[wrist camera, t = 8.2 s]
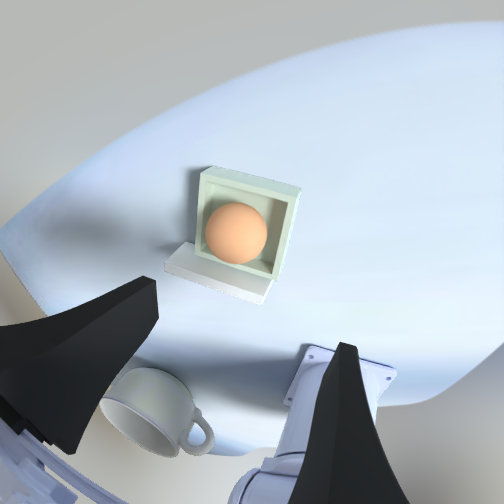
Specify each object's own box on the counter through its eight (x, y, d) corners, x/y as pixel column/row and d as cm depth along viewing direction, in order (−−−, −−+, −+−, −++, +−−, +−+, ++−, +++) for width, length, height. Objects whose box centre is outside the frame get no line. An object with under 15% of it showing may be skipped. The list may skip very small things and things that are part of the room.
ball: (266, 253, 20) (250, 284, 18) (215, 236, 21) (192, 264, 18) (278, 203, 19) (264, 228, 16) (223, 187, 19) (198, 208, 16)
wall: (274, 279, 22) (261, 305, 19) (185, 250, 23) (164, 271, 21) (276, 270, 21) (263, 296, 19) (185, 241, 23) (164, 261, 20)
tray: (283, 267, 21) (276, 281, 20) (205, 242, 22) (194, 254, 21) (302, 188, 18) (296, 197, 17) (212, 165, 19) (200, 172, 18)
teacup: (137, 387, 39) (107, 428, 33) (125, 340, 33) (86, 387, 27) (227, 428, 36) (203, 476, 30) (236, 389, 31) (205, 451, 24)
